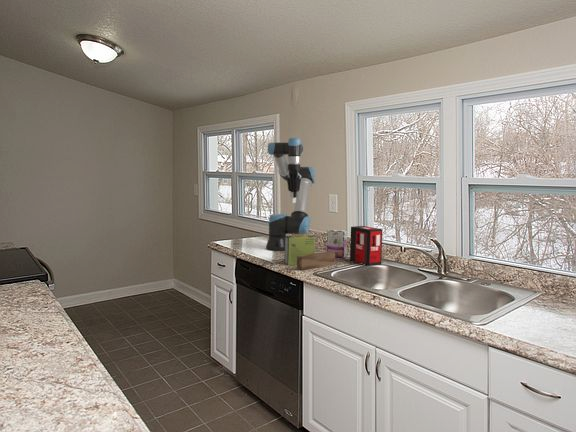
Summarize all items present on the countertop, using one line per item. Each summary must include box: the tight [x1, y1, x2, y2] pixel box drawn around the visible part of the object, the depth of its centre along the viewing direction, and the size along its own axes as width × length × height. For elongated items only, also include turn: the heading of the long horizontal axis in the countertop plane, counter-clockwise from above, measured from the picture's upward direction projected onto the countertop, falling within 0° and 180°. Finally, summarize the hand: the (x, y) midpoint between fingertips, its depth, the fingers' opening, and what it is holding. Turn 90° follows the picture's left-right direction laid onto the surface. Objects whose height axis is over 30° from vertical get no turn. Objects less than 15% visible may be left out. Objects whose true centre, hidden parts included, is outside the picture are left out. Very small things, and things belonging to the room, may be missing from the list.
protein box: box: [283, 234, 316, 266], centre depth 241 cm, size 10×15×16 cm
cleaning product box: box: [349, 225, 383, 267], centre depth 245 cm, size 16×9×20 cm, turn 31°
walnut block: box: [296, 251, 336, 271], centre depth 232 cm, size 4×24×7 cm, turn 129°
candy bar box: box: [326, 229, 348, 259], centre depth 262 cm, size 11×5×16 cm, turn 62°
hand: (293, 202), depth 263 cm, fingers closed
